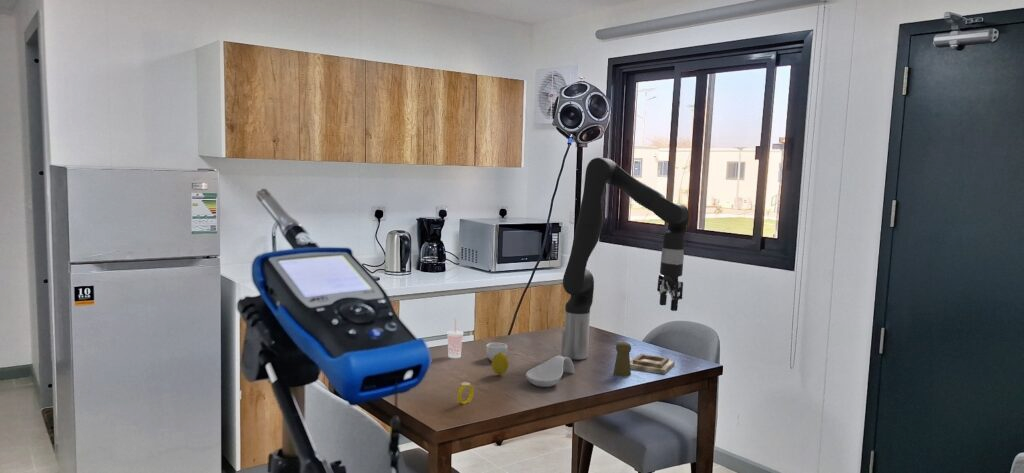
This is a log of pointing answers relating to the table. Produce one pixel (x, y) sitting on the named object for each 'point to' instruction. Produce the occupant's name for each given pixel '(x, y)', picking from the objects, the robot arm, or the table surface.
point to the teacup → (495, 349)
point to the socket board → (651, 363)
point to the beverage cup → (454, 343)
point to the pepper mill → (622, 360)
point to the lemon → (500, 363)
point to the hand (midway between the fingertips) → (668, 307)
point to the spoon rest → (550, 371)
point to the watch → (463, 385)
